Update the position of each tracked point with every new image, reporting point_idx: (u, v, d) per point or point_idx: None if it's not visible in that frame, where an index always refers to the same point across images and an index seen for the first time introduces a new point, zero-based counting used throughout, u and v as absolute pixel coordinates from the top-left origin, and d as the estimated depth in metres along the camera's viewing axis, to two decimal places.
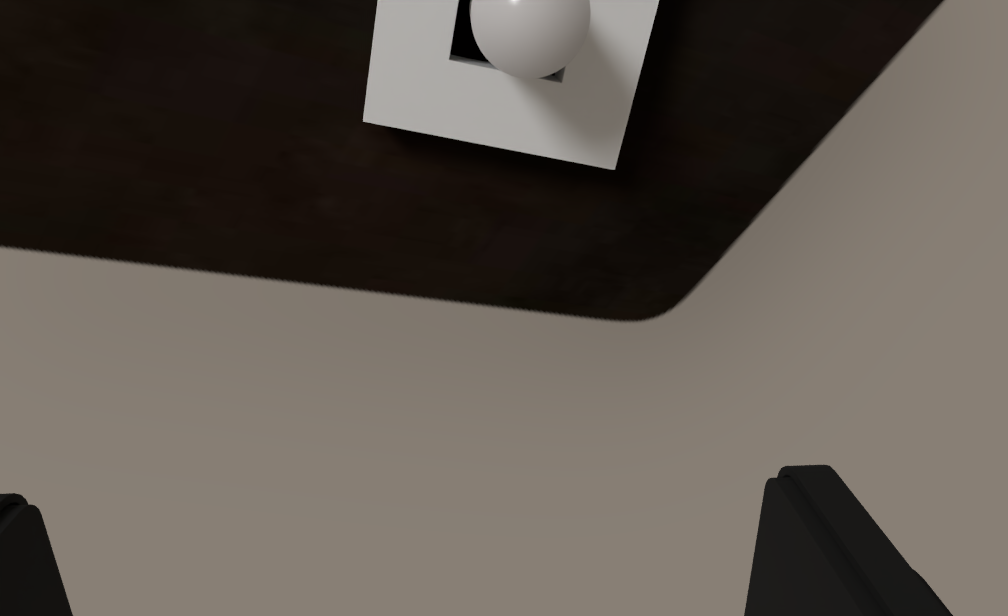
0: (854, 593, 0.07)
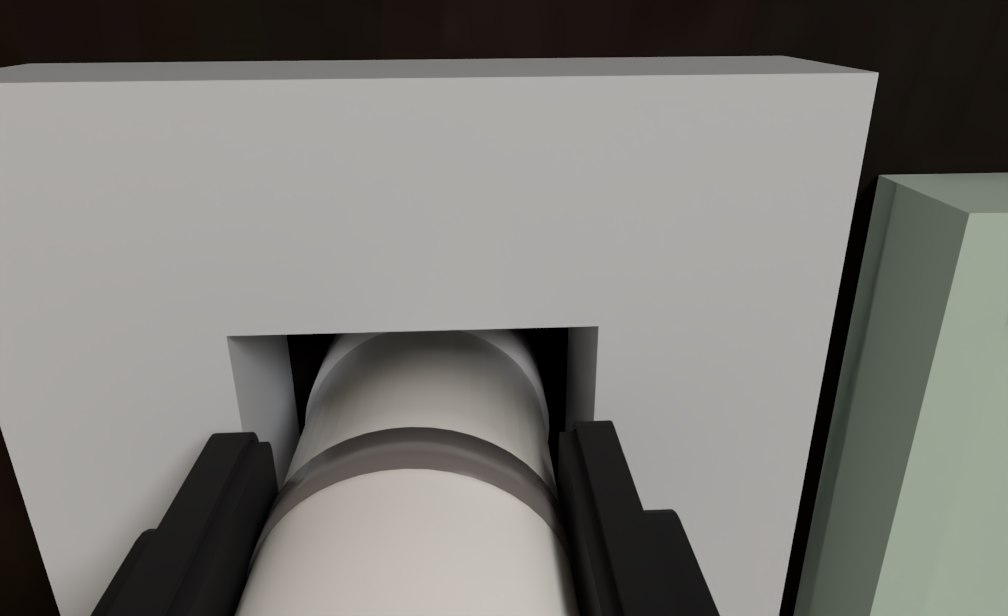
0: (587, 523, 0.08)
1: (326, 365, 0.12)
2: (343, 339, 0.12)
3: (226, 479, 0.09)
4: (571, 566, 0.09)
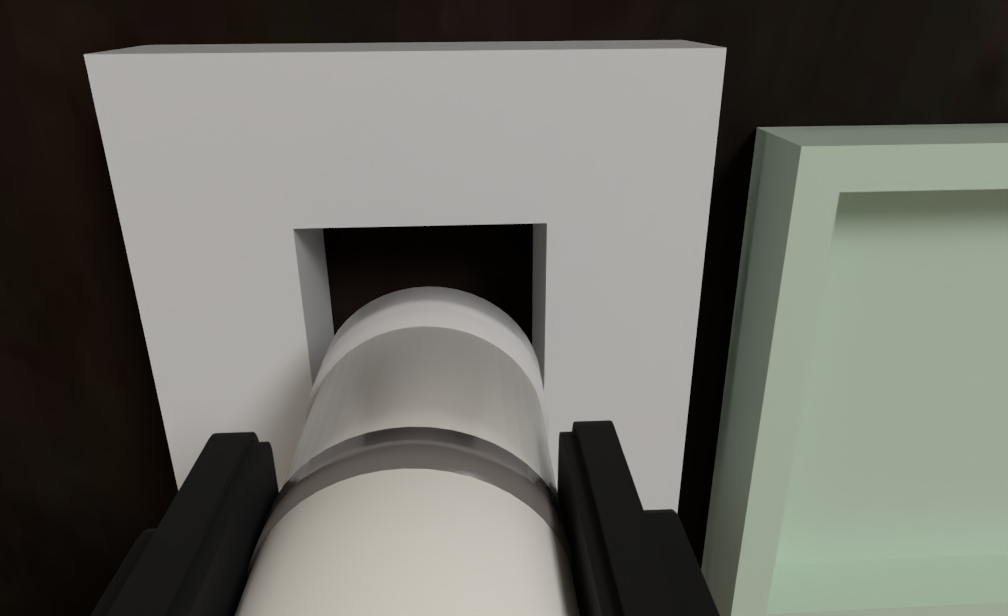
0: (587, 523, 0.08)
1: (326, 365, 0.12)
2: (343, 339, 0.12)
3: (226, 479, 0.09)
4: (571, 566, 0.09)
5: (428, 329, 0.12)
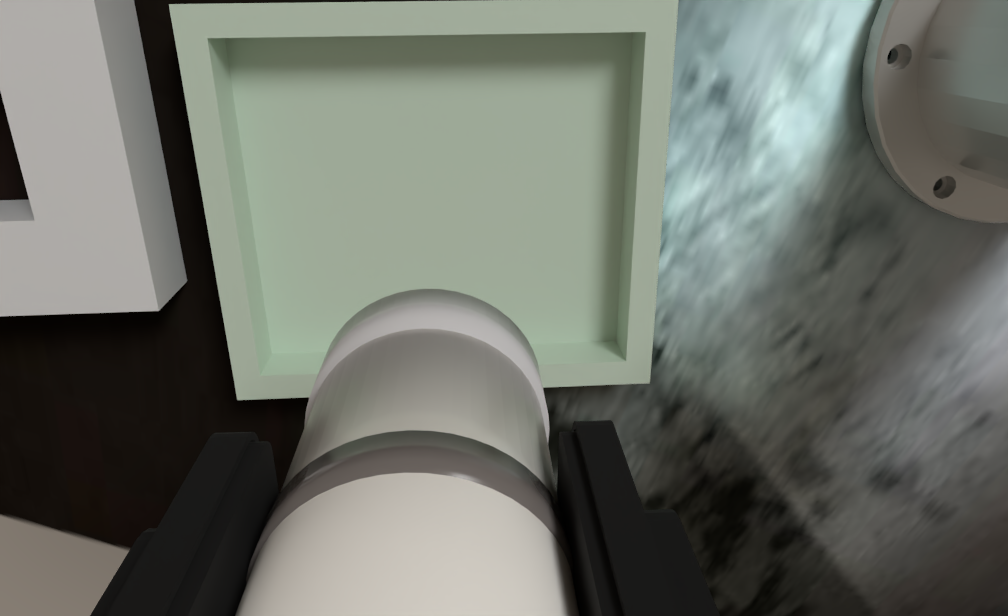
0: (587, 523, 0.08)
1: (326, 367, 0.12)
2: (343, 341, 0.12)
3: (226, 479, 0.09)
4: (571, 570, 0.09)
5: (428, 331, 0.12)
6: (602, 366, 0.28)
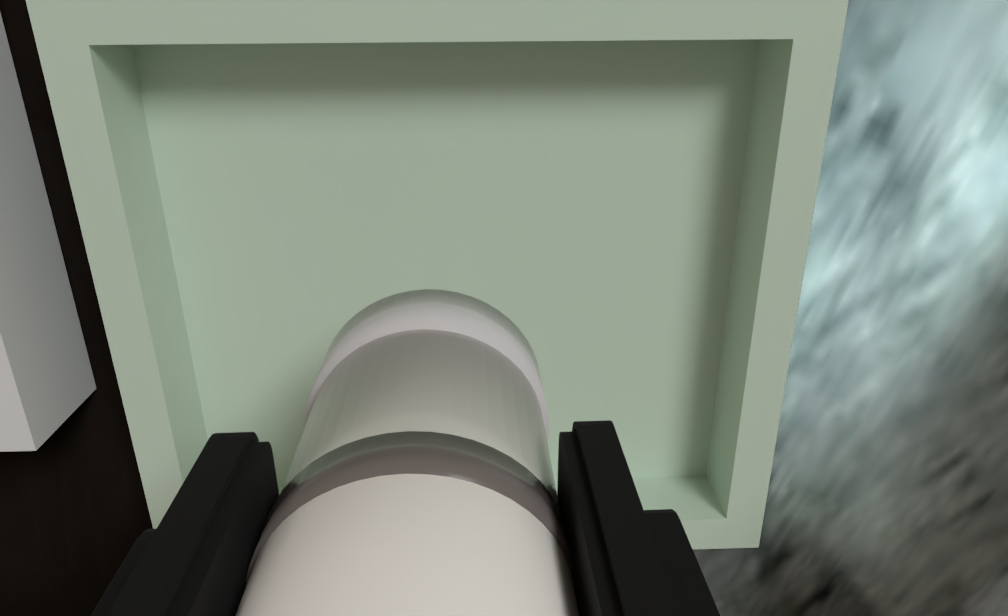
0: (587, 523, 0.08)
1: (325, 368, 0.12)
2: (342, 342, 0.12)
3: (226, 479, 0.09)
4: (571, 571, 0.09)
5: (428, 332, 0.12)
6: (691, 525, 0.20)
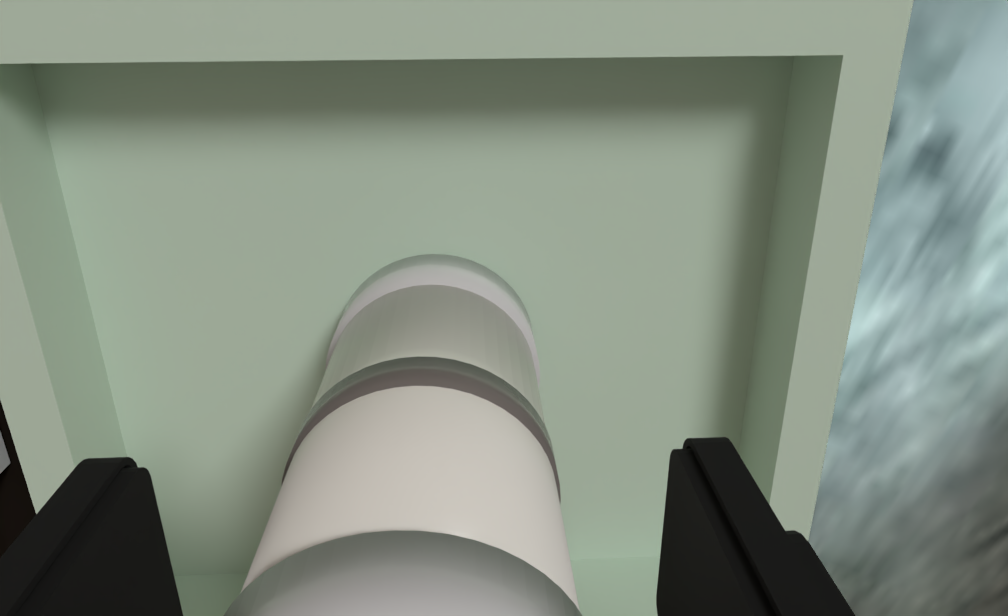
0: (728, 549, 0.08)
1: (344, 320, 0.14)
2: (358, 298, 0.14)
3: (85, 510, 0.08)
4: (554, 473, 0.11)
5: (432, 286, 0.14)
6: None
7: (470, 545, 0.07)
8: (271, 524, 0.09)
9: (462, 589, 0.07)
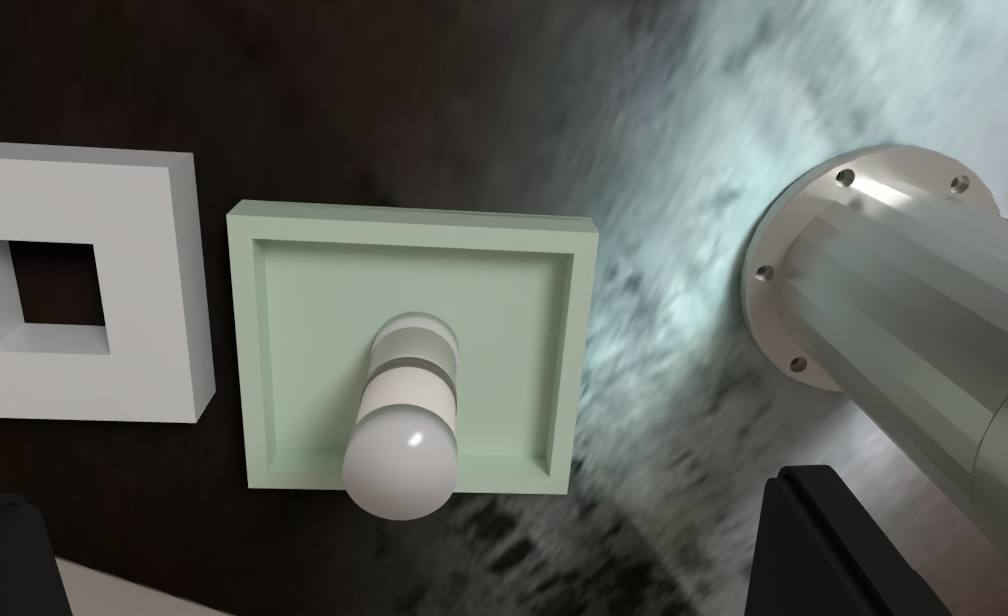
0: (854, 593, 0.07)
1: (379, 338, 0.34)
2: (385, 329, 0.34)
3: None
4: (454, 399, 0.31)
5: (416, 328, 0.34)
6: (531, 480, 0.37)
7: (423, 408, 0.28)
8: (364, 405, 0.29)
9: (420, 416, 0.27)
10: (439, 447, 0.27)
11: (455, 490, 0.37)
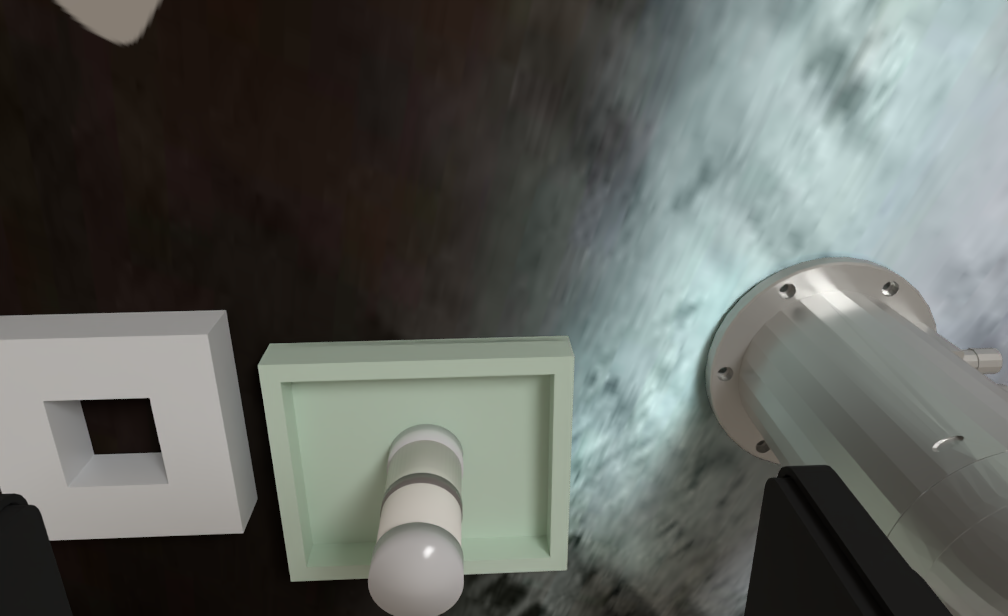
0: (854, 593, 0.07)
1: (393, 452, 0.40)
2: (398, 443, 0.40)
3: None
4: (459, 506, 0.36)
5: (424, 441, 0.39)
6: (534, 560, 0.43)
7: (431, 525, 0.33)
8: (383, 522, 0.34)
9: (429, 533, 0.32)
10: (446, 559, 0.32)
11: (469, 572, 0.43)
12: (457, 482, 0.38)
